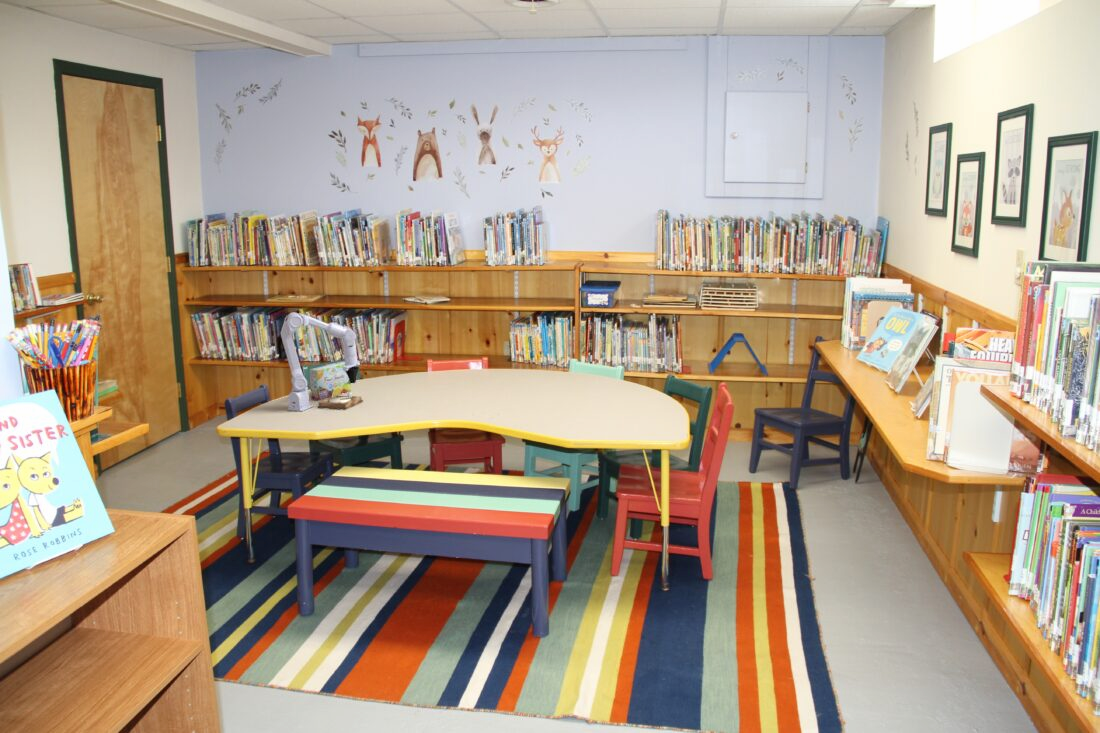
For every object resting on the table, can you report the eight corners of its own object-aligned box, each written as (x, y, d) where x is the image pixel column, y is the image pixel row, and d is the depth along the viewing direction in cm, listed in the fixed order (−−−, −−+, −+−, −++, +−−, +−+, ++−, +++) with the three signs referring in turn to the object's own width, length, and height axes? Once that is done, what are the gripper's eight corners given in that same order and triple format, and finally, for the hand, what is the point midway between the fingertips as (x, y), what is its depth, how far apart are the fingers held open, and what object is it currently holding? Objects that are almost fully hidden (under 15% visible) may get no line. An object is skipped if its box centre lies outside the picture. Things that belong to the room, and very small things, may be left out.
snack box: (319, 401, 416) (316, 370, 413) (311, 399, 419) (308, 369, 416) (352, 391, 433) (349, 361, 430) (344, 390, 436) (341, 361, 433)
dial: (328, 405, 401) (327, 396, 400) (329, 400, 410) (329, 391, 409) (352, 403, 403) (351, 394, 402) (352, 398, 412) (351, 390, 411)
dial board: (345, 409, 397) (345, 403, 397) (317, 408, 402) (317, 402, 402) (363, 401, 411) (362, 396, 411) (335, 400, 416) (335, 394, 415)
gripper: (351, 357, 399) (354, 386, 402) (364, 351, 413) (367, 379, 416) (337, 357, 401) (340, 386, 404) (350, 351, 415) (353, 379, 417)
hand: (352, 382), depth 410 cm, fingers closed
